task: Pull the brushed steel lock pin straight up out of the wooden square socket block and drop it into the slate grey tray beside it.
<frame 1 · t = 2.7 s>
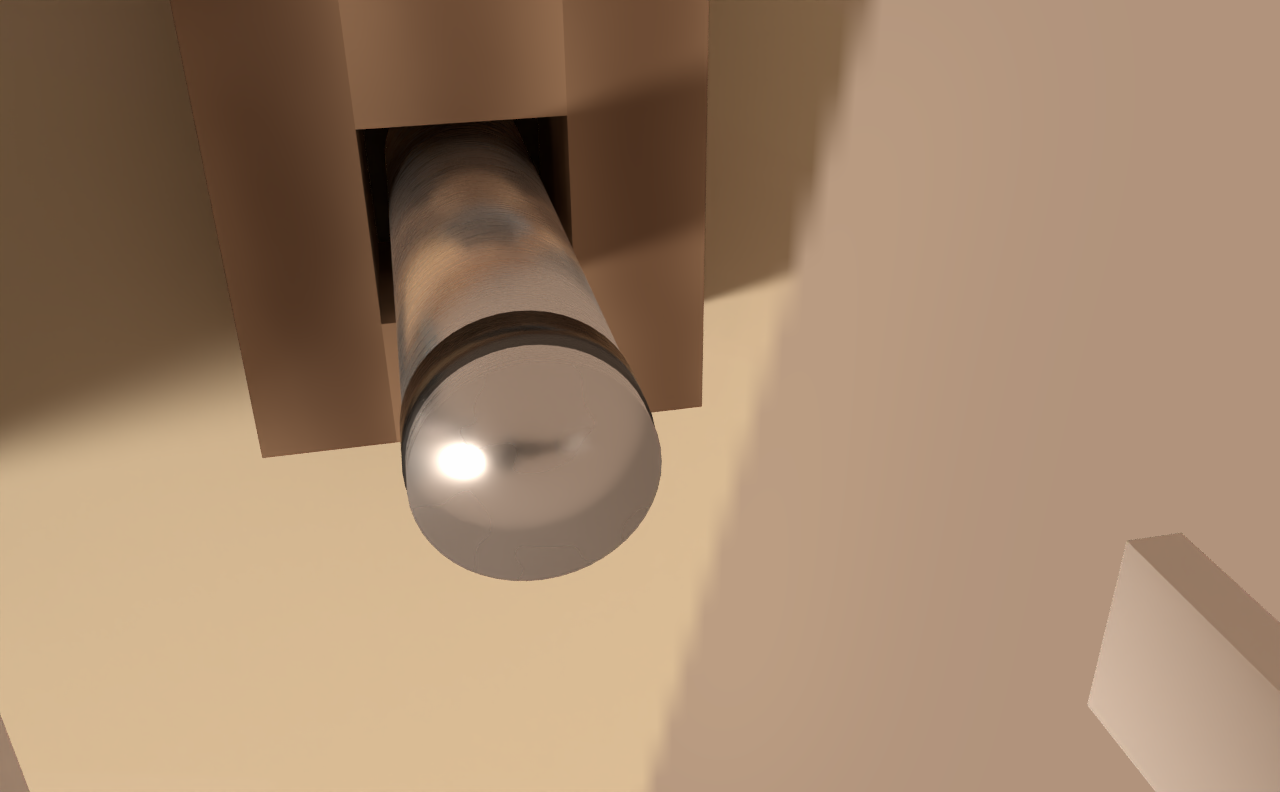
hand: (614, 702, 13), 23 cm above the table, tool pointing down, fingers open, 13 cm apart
lock pin: (483, 266, 25), in the wooden square socket block
wooden square socket block: (454, 154, 33), on the table
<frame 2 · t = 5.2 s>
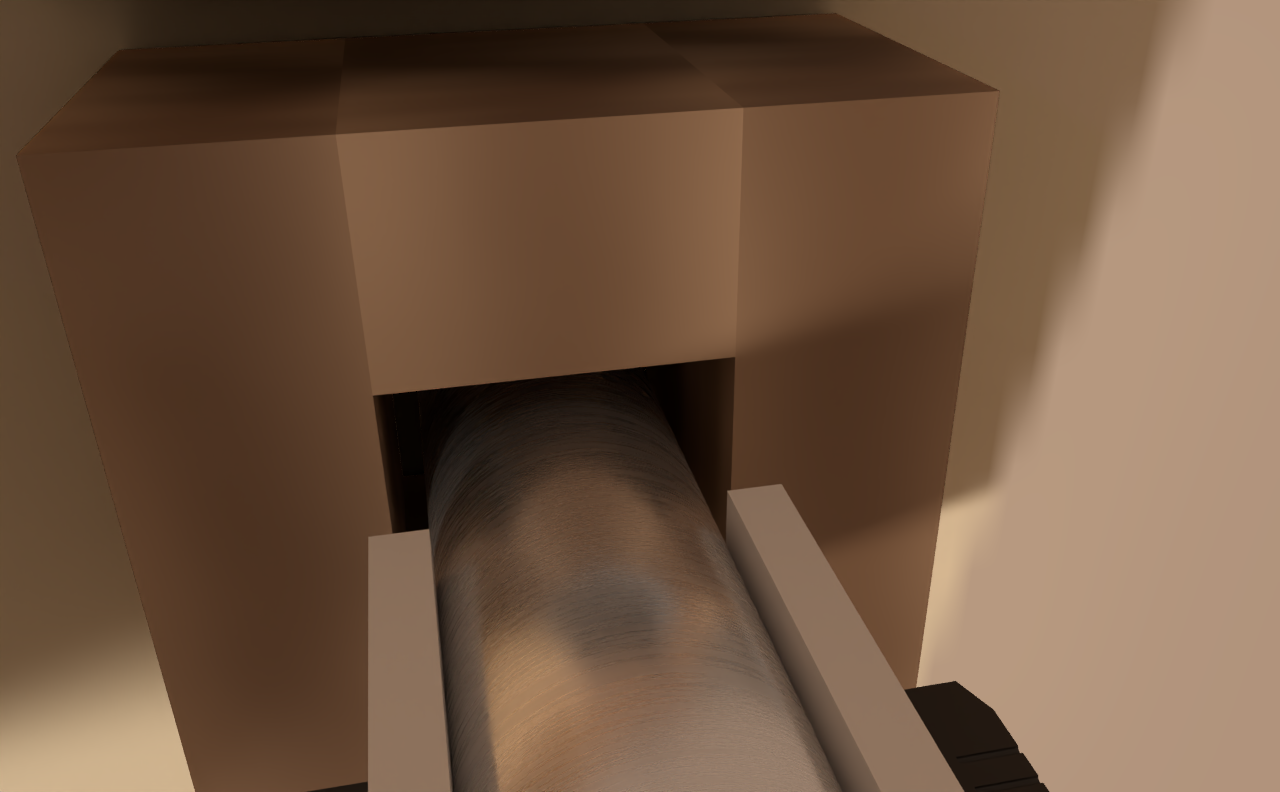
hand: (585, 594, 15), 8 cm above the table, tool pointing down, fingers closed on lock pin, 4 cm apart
lock pin: (603, 662, 14), in the wooden square socket block, touching gripper
wooden square socket block: (520, 351, 22), on the table
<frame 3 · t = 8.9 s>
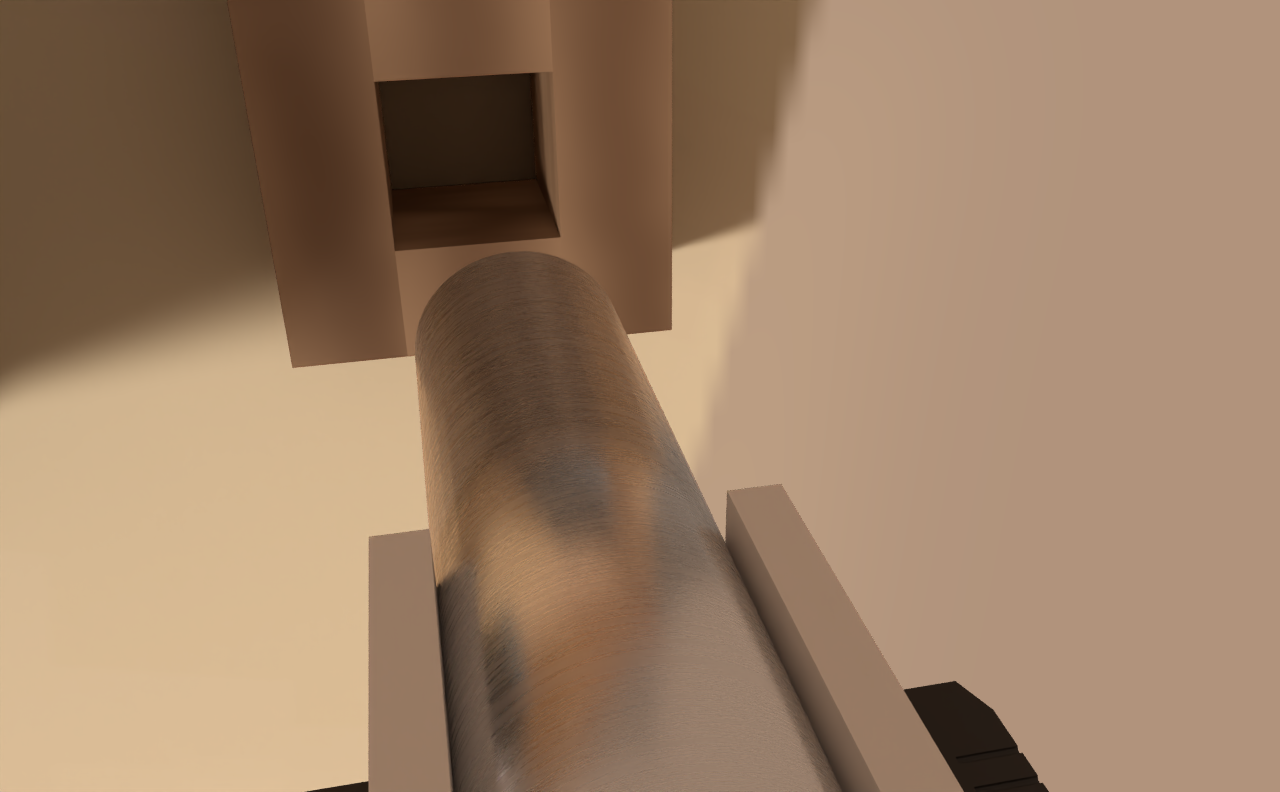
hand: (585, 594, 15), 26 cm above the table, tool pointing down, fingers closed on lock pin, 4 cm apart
lock pin: (602, 655, 14), point 28 cm above the table, touching gripper
wooden square socket block: (458, 112, 38), on the table
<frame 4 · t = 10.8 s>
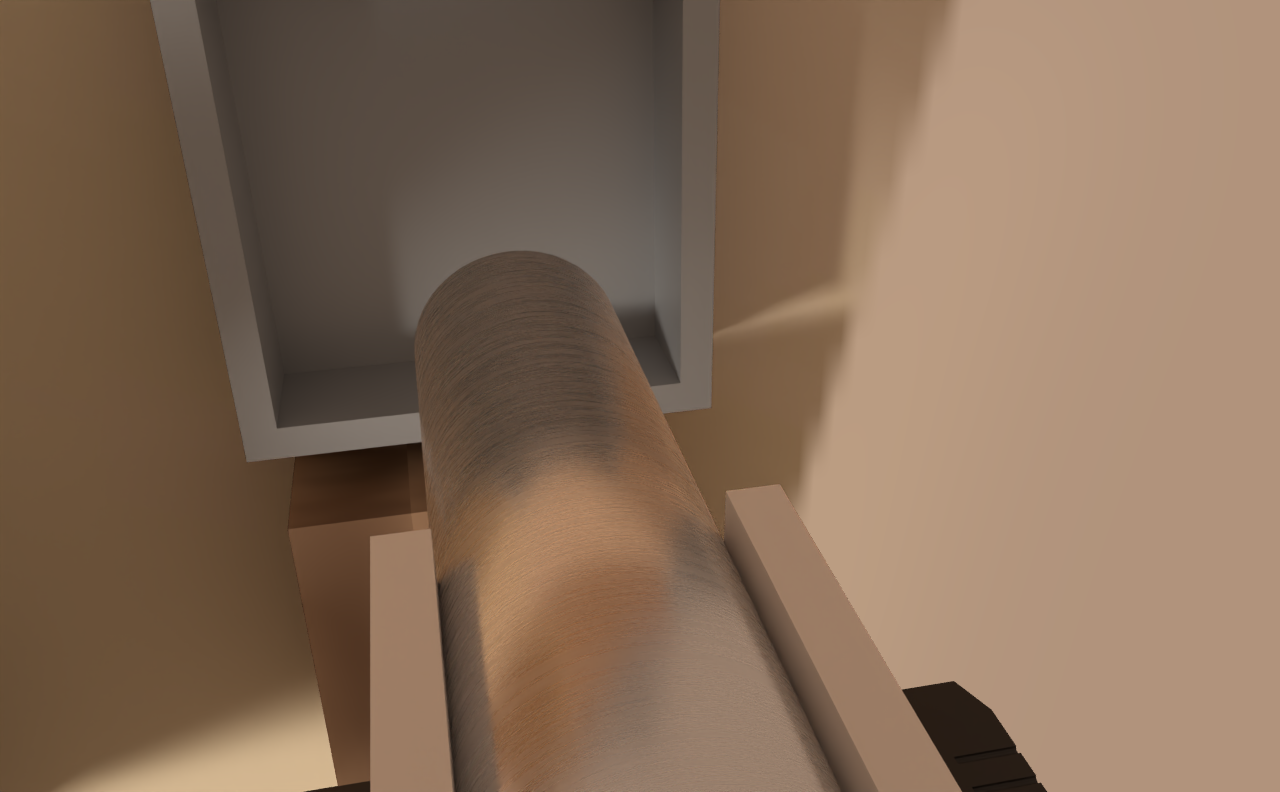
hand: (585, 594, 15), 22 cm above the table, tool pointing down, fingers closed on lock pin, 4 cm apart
lock pin: (600, 651, 14), point 23 cm above the table, touching gripper
tray: (454, 149, 34), on the table
wooden square socket block: (491, 549, 41), on the table
when the fingers open (11 cm above the table, at t = 12.6 s): lock pin drops 2 cm, resting on tray.
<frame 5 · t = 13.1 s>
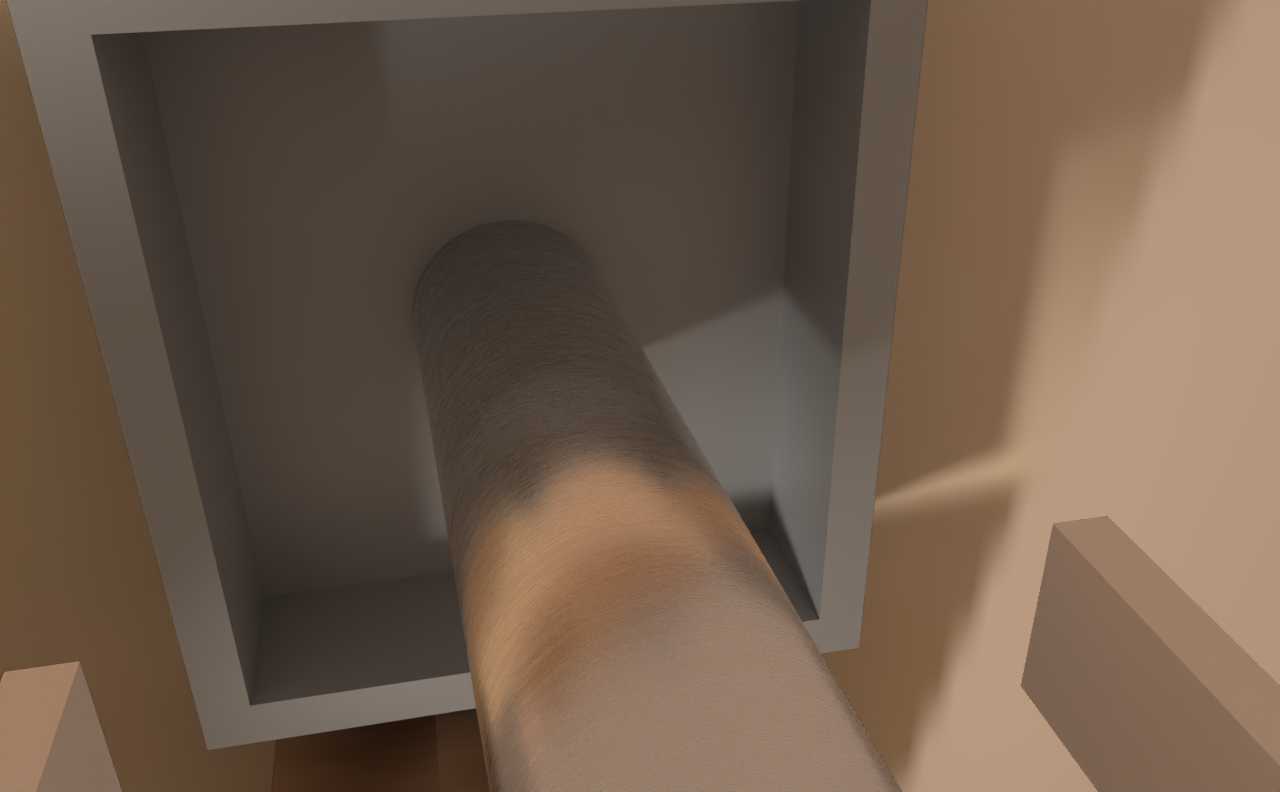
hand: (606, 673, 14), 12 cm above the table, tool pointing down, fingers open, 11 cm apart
lock pin: (600, 560, 16), in the tray, point 10 cm above the table
tray: (504, 291, 24), on the table
wooden square socket block: (541, 785, 31), on the table
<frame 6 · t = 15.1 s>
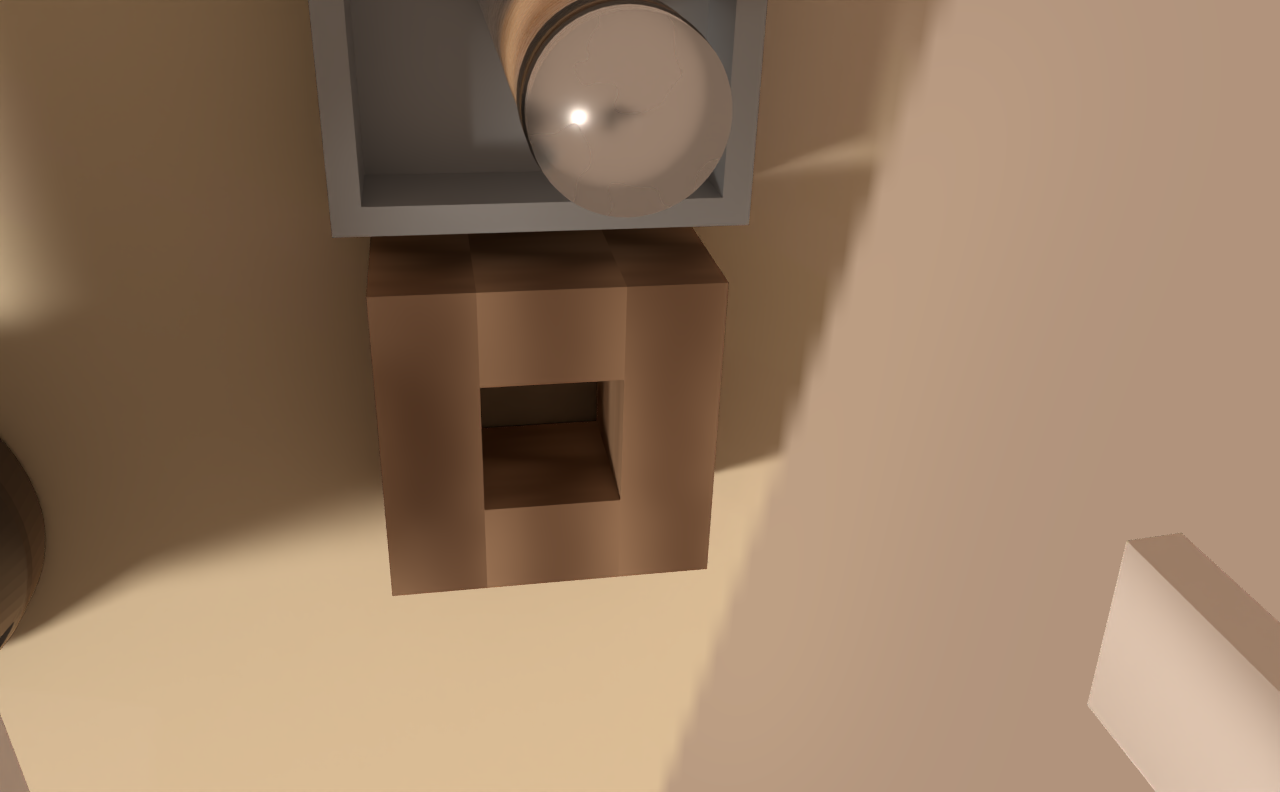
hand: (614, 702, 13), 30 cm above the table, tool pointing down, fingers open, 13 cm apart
lock pin: (570, 31, 29), in the tray, point 10 cm above the table
wooden square socket block: (535, 370, 45), on the table
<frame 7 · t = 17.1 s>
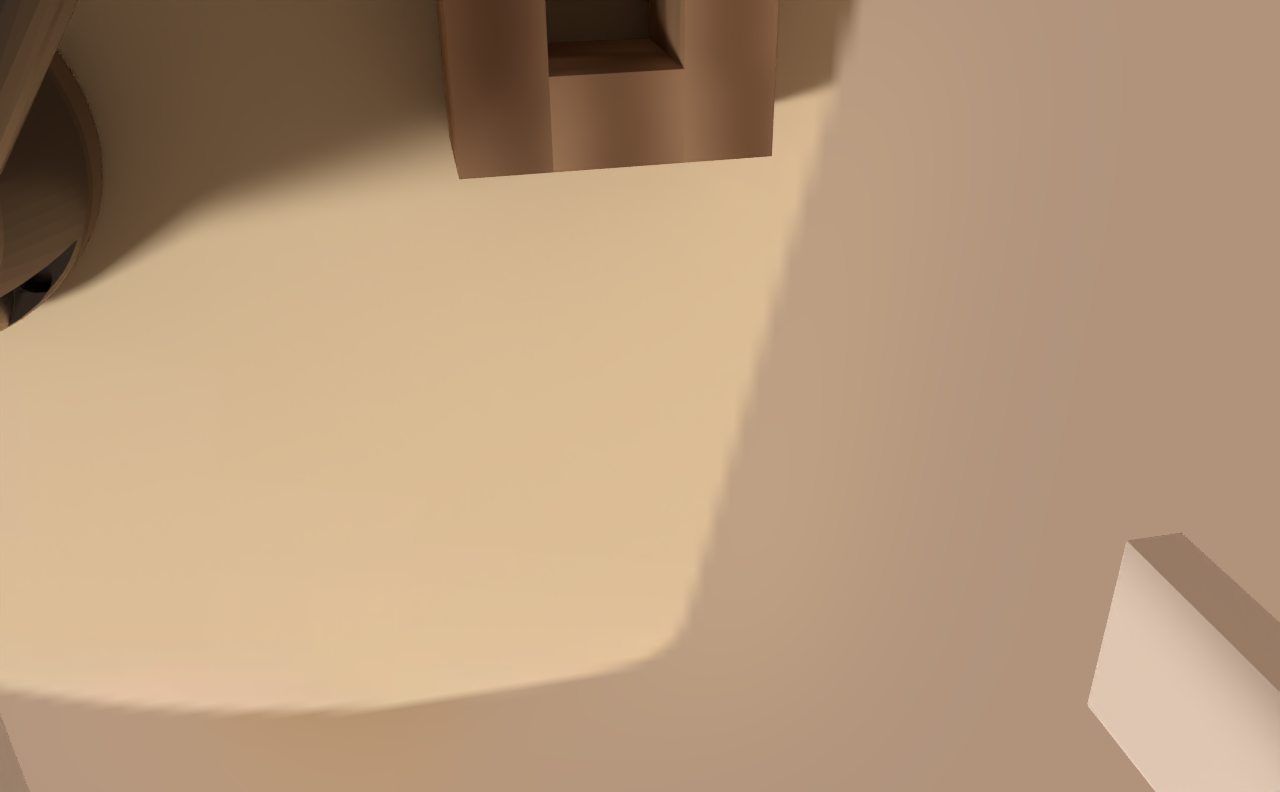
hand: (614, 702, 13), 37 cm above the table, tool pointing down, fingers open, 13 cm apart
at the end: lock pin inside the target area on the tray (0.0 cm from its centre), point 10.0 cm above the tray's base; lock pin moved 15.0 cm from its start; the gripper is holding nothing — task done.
